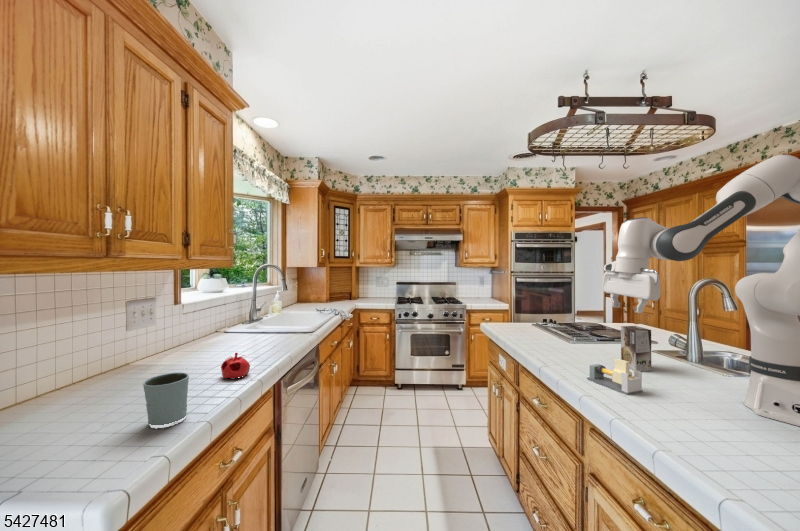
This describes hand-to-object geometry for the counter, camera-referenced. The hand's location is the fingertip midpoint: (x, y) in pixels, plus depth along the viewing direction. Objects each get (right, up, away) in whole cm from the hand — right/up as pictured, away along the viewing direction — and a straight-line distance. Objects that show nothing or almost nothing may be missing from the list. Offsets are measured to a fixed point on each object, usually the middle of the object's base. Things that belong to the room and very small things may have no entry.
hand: (626, 309), depth 107 cm
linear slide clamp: (0, -27, +6) cm, 28 cm away
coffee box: (+21, -27, +25) cm, 42 cm away
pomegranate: (-137, -28, +19) cm, 141 cm away
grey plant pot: (-138, -29, -17) cm, 142 cm away
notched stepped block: (+1, -25, +3) cm, 25 cm away
